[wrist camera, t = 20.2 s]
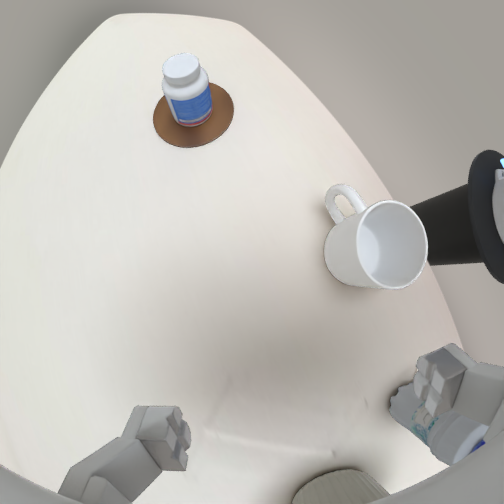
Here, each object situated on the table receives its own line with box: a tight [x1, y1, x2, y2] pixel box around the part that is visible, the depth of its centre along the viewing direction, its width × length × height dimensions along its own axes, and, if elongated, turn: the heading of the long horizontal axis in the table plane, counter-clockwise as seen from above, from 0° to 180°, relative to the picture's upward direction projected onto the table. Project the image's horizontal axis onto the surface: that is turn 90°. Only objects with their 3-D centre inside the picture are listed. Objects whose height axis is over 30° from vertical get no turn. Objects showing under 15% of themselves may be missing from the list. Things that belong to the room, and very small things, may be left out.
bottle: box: [389, 382, 489, 466], centre depth 22 cm, size 7×7×20 cm
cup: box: [324, 184, 428, 290], centre depth 28 cm, size 8×12×10 cm
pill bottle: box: [162, 53, 213, 127], centre depth 28 cm, size 6×5×10 cm
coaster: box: [153, 83, 234, 147], centre depth 33 cm, size 11×11×1 cm
